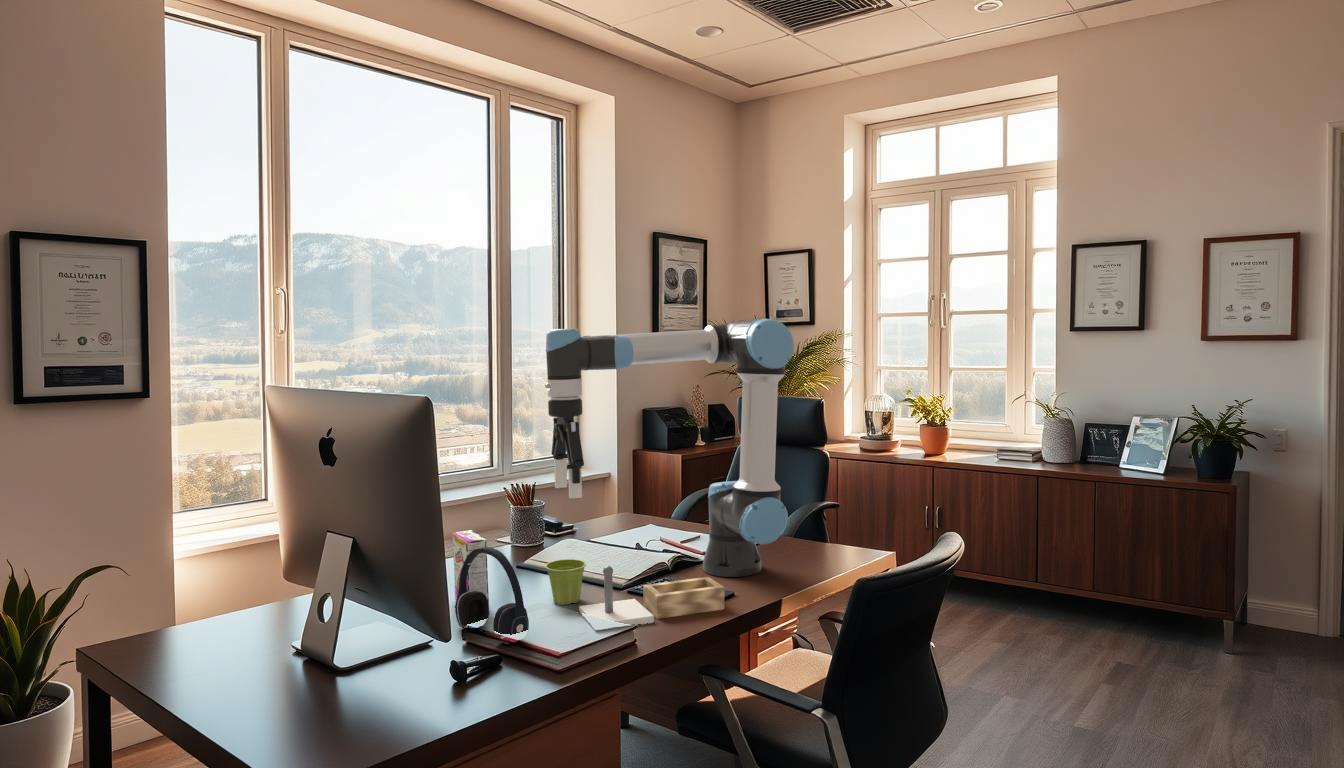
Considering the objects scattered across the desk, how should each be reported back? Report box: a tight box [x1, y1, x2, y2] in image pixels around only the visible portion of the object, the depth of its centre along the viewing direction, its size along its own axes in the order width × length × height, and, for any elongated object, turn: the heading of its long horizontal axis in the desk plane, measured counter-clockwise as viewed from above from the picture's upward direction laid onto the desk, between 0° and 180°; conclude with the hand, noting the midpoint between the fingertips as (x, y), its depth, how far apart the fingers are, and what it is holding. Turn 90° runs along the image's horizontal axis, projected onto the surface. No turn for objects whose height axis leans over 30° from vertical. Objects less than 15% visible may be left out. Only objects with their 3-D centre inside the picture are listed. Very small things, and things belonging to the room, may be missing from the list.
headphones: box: [454, 546, 530, 635], centre depth 181 cm, size 20×7×18 cm, turn 47°
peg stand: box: [578, 565, 655, 626], centre depth 191 cm, size 13×13×12 cm
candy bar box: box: [451, 529, 490, 606], centre depth 202 cm, size 11×5×16 cm, turn 31°
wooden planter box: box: [642, 576, 725, 620], centre depth 197 cm, size 16×9×5 cm, turn 111°
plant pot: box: [544, 558, 587, 606], centre depth 204 cm, size 9×9×9 cm
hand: (568, 492), depth 196 cm, fingers open, 13 cm apart
